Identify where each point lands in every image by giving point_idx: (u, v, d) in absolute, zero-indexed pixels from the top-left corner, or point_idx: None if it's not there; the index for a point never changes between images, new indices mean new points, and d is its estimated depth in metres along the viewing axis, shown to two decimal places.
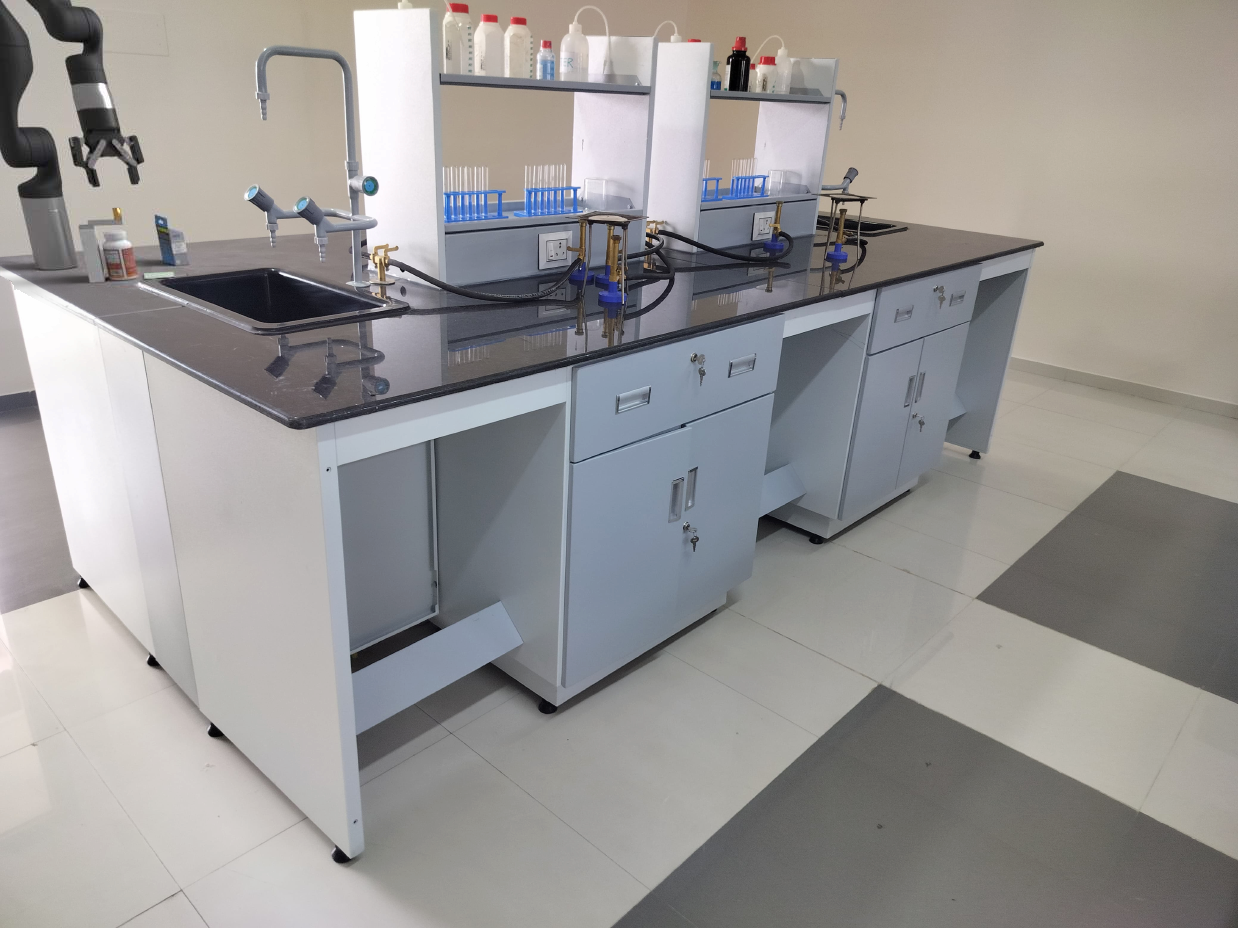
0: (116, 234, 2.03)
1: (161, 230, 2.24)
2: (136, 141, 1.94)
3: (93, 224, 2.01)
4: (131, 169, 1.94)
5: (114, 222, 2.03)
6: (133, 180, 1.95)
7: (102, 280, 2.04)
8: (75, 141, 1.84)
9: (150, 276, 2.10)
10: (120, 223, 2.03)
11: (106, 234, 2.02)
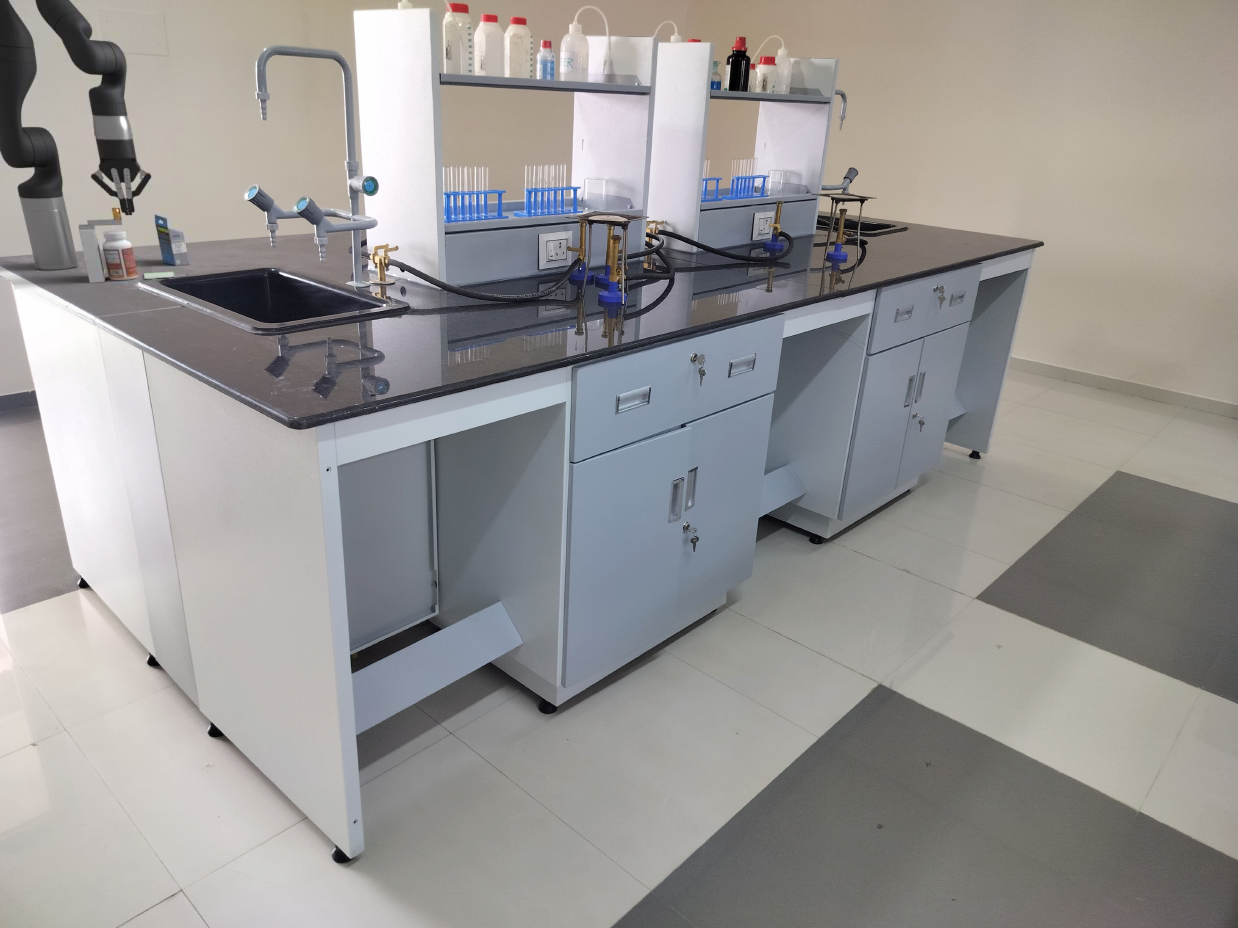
0: (116, 234, 2.03)
1: (161, 230, 2.24)
2: (147, 179, 2.02)
3: (92, 224, 2.01)
4: None
5: (113, 222, 2.03)
6: None
7: (102, 280, 2.04)
8: (94, 179, 1.97)
9: (150, 276, 2.10)
10: (120, 223, 2.03)
11: (106, 234, 2.02)
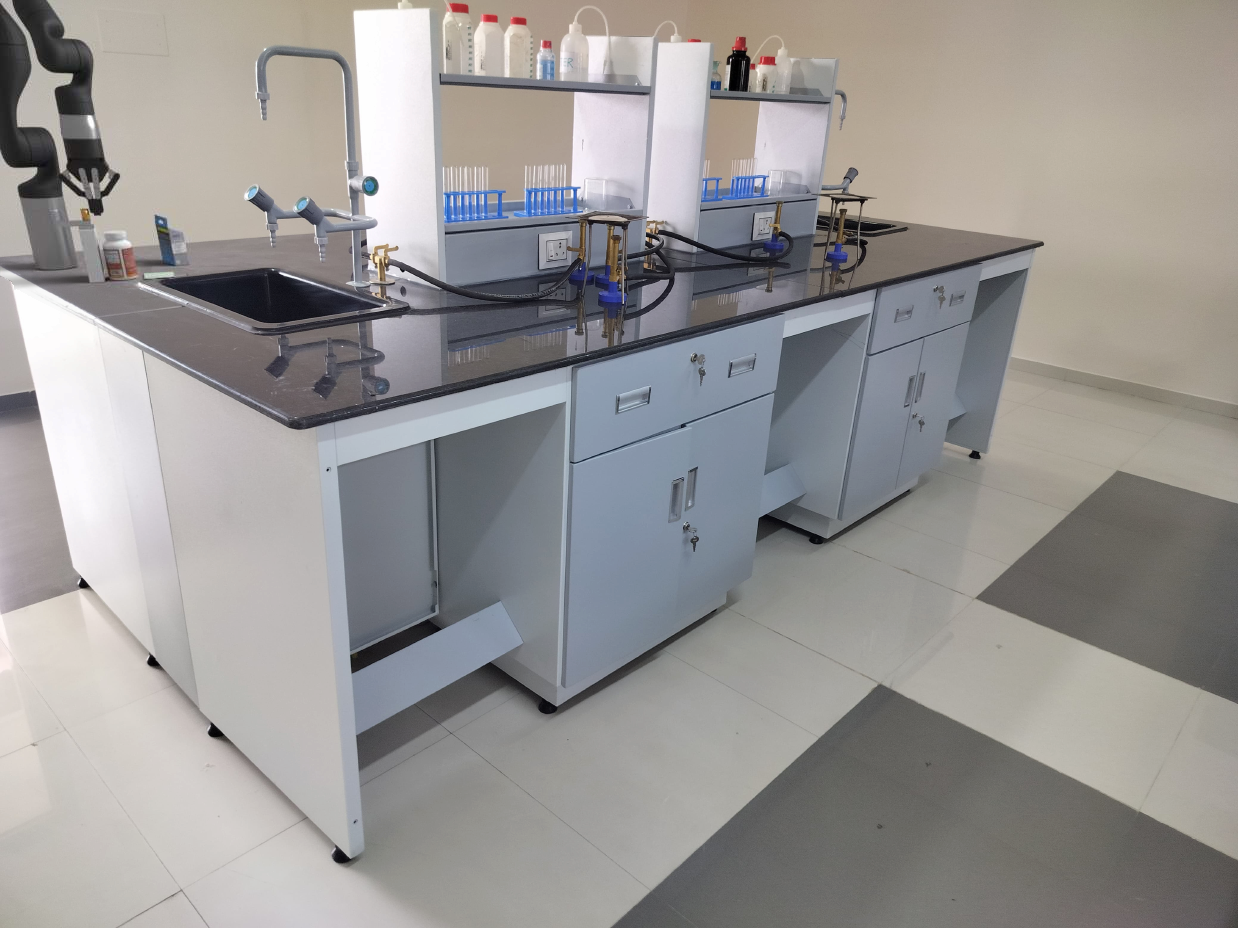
0: (116, 234, 2.03)
1: (161, 230, 2.24)
2: (116, 179, 1.99)
3: (61, 225, 1.98)
4: None
5: (82, 223, 2.00)
6: None
7: (102, 280, 2.04)
8: (61, 179, 1.95)
9: (150, 276, 2.10)
10: (88, 224, 2.01)
11: (106, 234, 2.02)
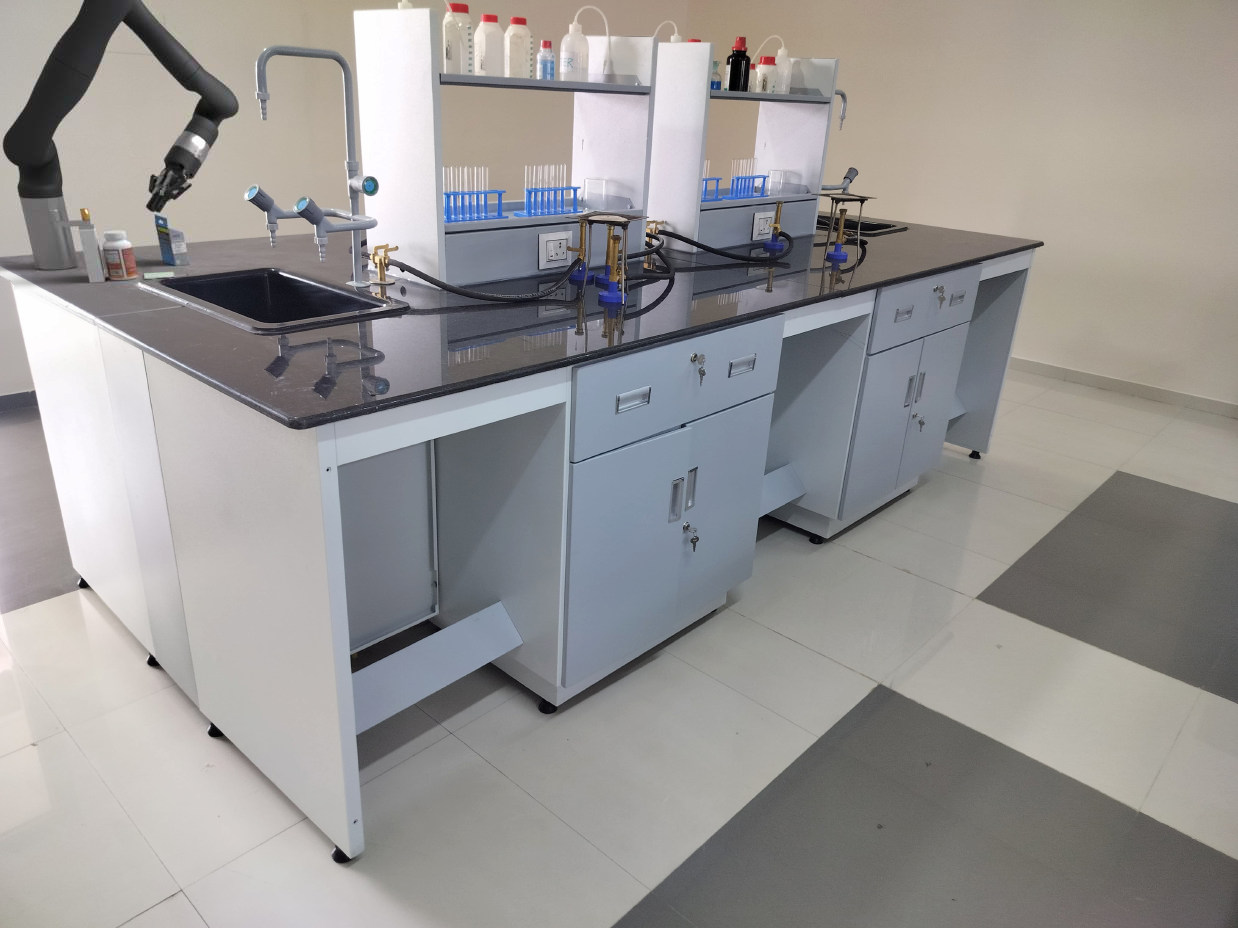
0: (116, 234, 2.03)
1: (161, 230, 2.24)
2: None
3: (60, 225, 1.98)
4: None
5: (82, 223, 2.00)
6: None
7: (102, 280, 2.04)
8: None
9: (150, 276, 2.10)
10: (88, 224, 2.01)
11: (106, 234, 2.02)
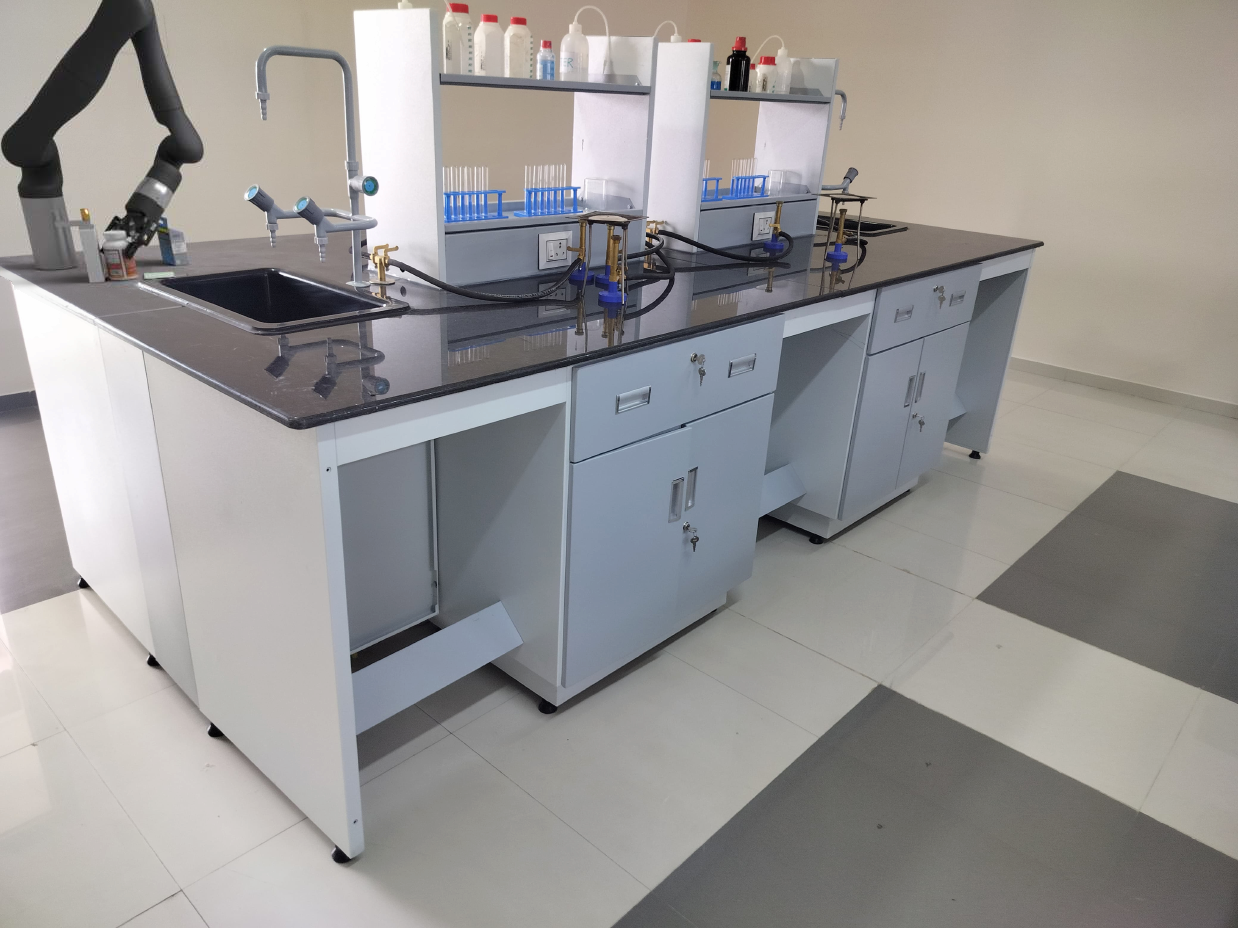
0: (116, 234, 2.03)
1: (161, 230, 2.24)
2: None
3: (60, 225, 1.98)
4: None
5: (82, 223, 2.00)
6: None
7: (102, 280, 2.04)
8: None
9: (150, 276, 2.10)
10: (88, 224, 2.01)
11: (106, 234, 2.02)
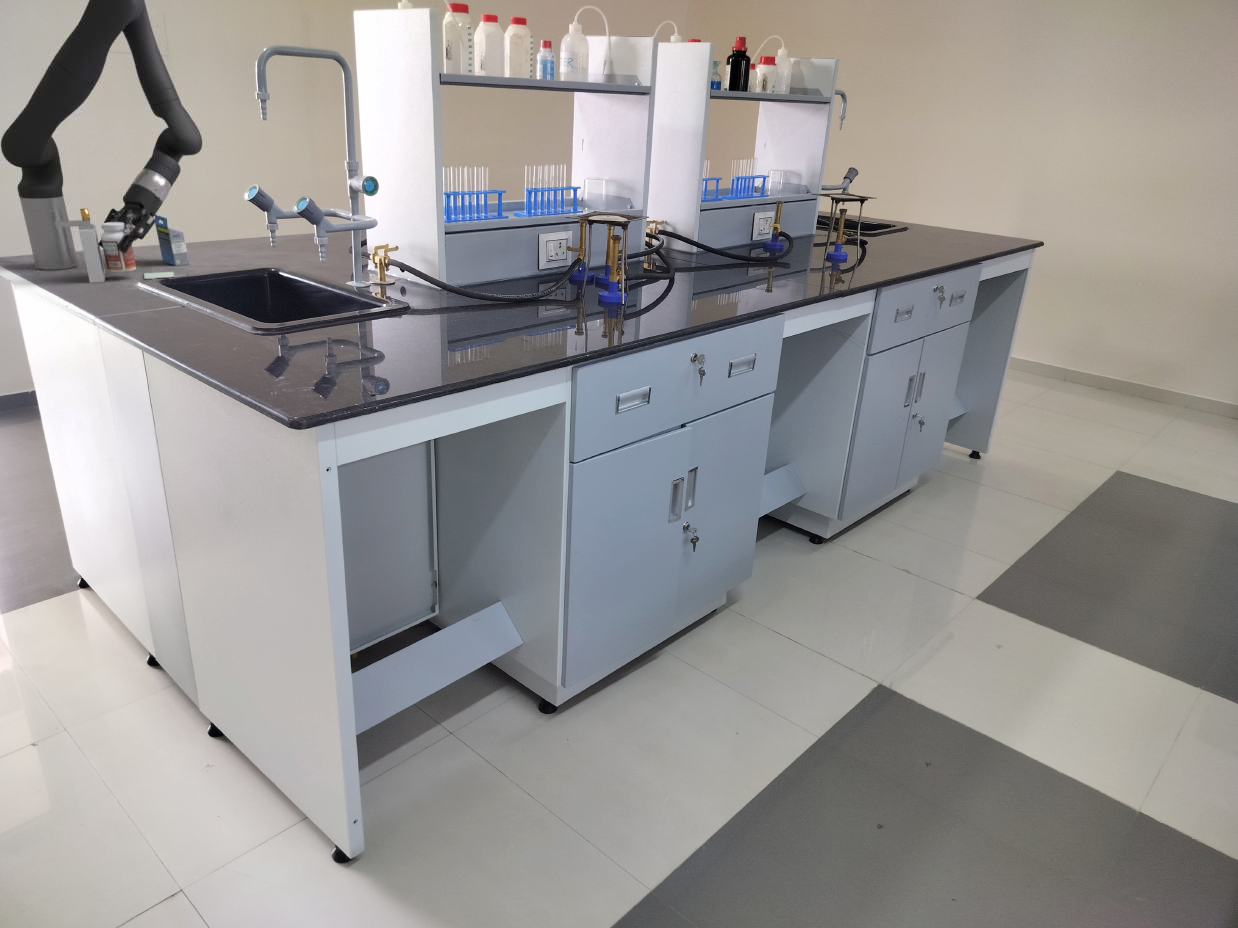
0: (115, 226, 2.02)
1: (161, 230, 2.24)
2: None
3: (60, 225, 1.98)
4: None
5: (82, 223, 2.00)
6: None
7: (102, 280, 2.04)
8: None
9: (150, 276, 2.10)
10: (88, 224, 2.01)
11: (105, 226, 2.02)
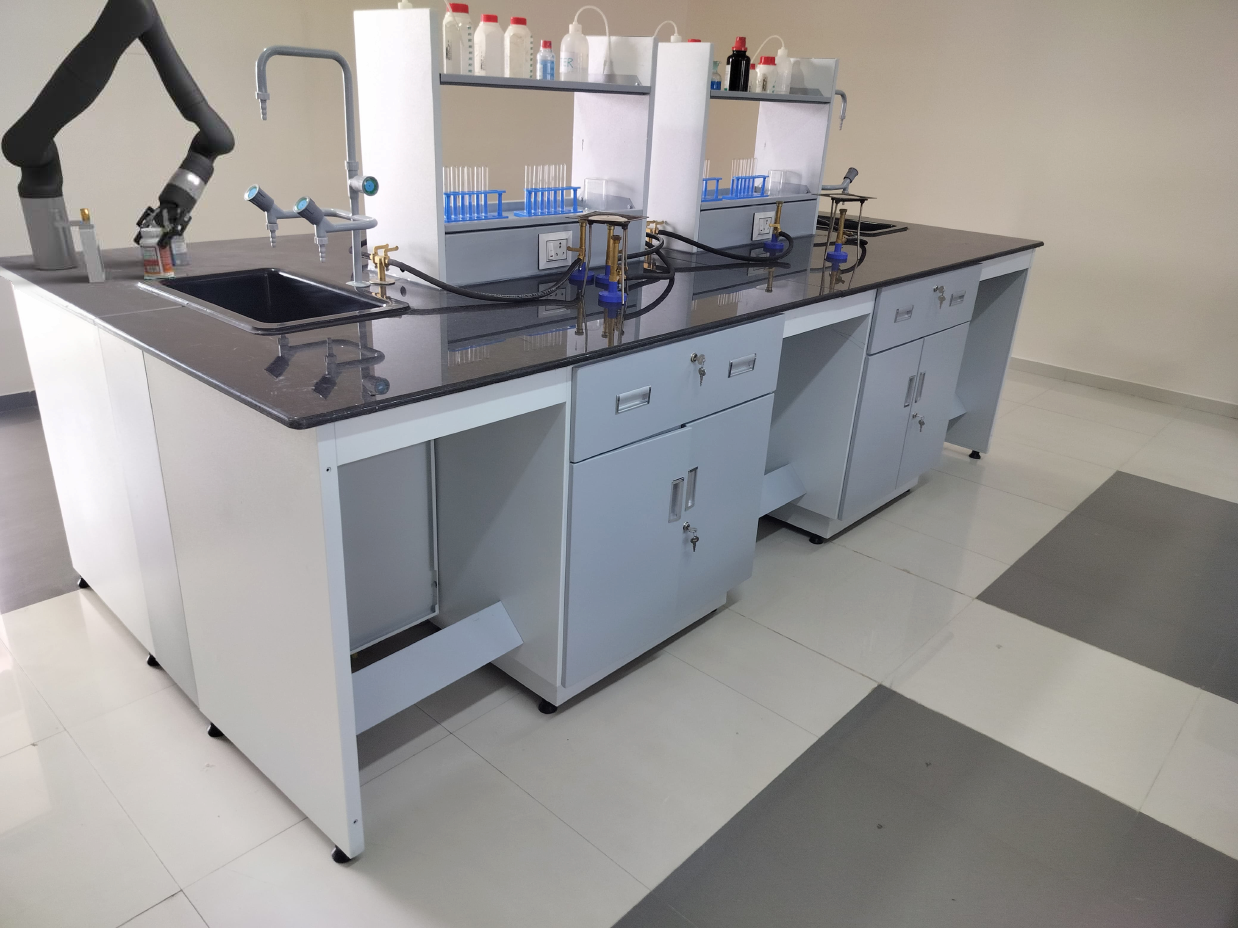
0: (153, 231, 2.06)
1: None
2: None
3: (60, 225, 1.98)
4: None
5: (82, 223, 2.00)
6: None
7: (102, 280, 2.04)
8: None
9: None
10: (88, 224, 2.01)
11: (143, 231, 2.05)
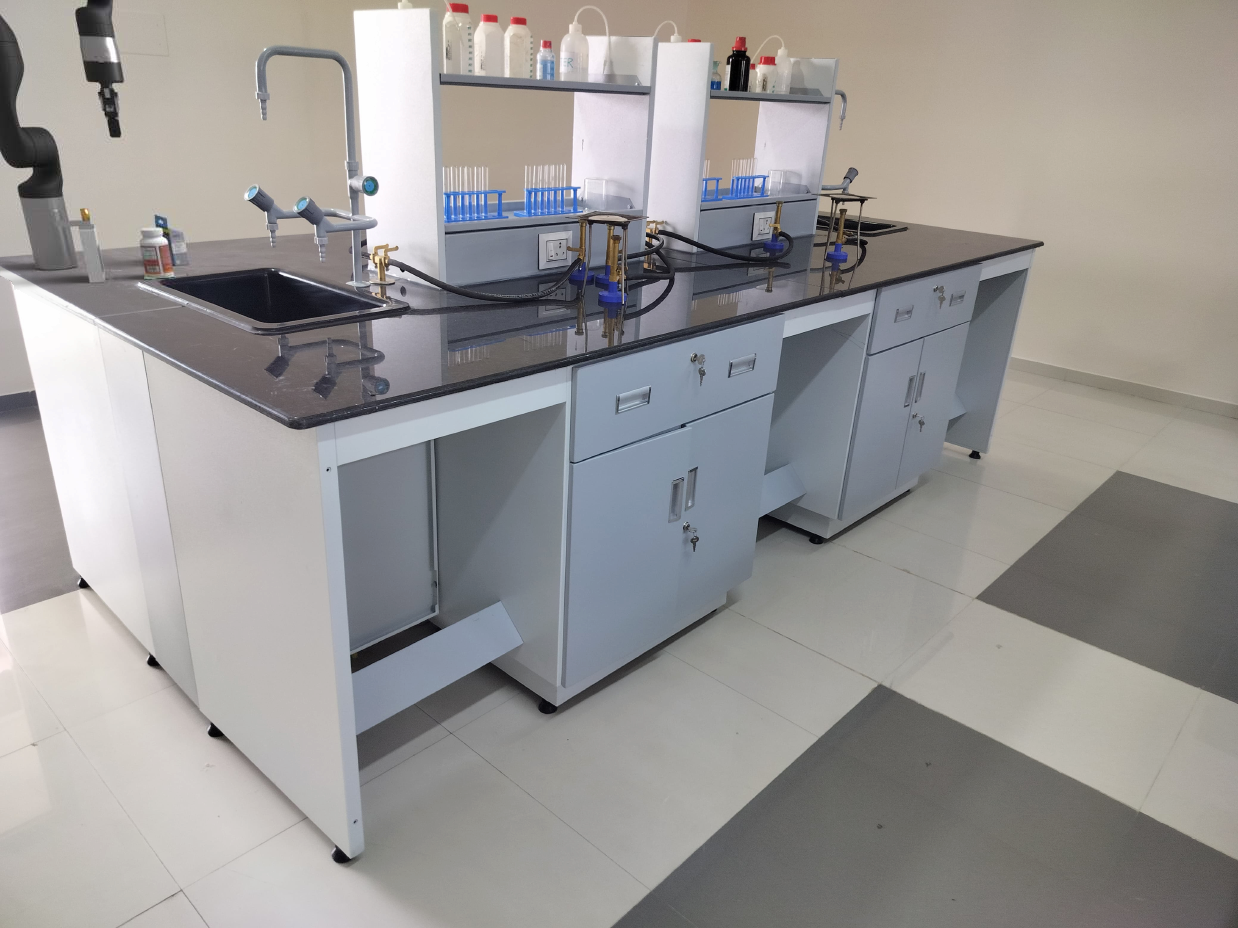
0: (153, 231, 2.06)
1: None
2: None
3: (60, 225, 1.98)
4: None
5: (82, 223, 2.00)
6: None
7: (102, 280, 2.04)
8: (113, 93, 1.92)
9: None
10: (88, 224, 2.01)
11: (143, 231, 2.05)
